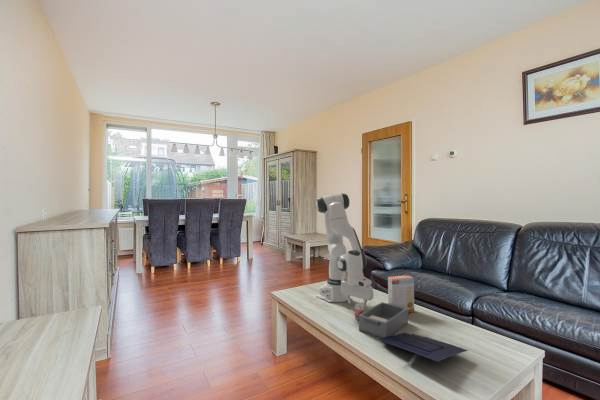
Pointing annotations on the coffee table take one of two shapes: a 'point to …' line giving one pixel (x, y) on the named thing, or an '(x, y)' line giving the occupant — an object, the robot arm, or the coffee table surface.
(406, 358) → the coffee table surface
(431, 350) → the dark navy flat panel
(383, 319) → the cream block
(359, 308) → the jar with white lid
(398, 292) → the cracker box
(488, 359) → the coffee table surface
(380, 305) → the tote
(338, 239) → the robot arm
